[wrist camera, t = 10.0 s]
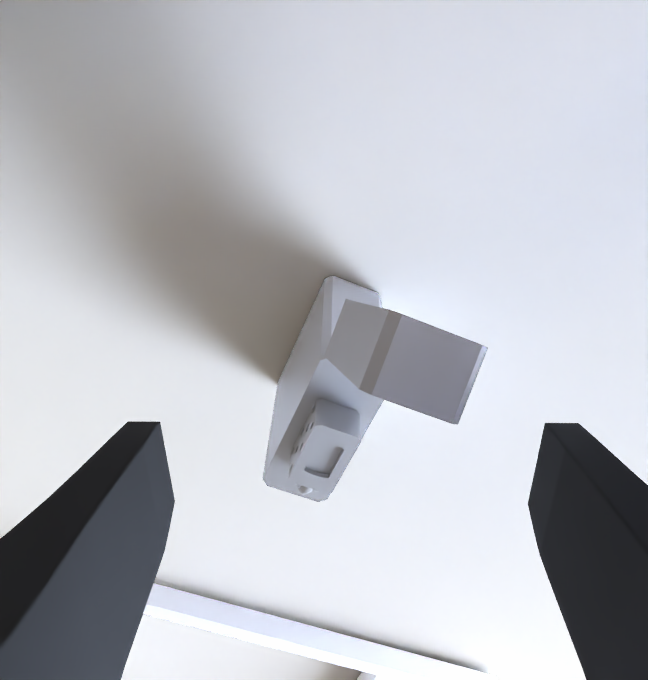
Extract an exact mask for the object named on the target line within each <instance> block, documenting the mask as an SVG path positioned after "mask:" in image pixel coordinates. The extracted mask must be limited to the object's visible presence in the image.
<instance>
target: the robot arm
mask: <svg viewBox="0 0 648 680" xmlns="http://www.w3.org/2000/svg"><path fill="white" fill-rule="evenodd" d="M174 502H175V500H174V495H173V490H172V484H171V479H170V473H169V468H168V463H167V457H166V452H165V446H164V441H163V436H162V430H161V425H160V422H127V423H126V424H125V425H124V426H123V427H122V428H121V429H120V430H119V431H118V432H117V433H116V434H115V435H113V436H112V437H111V438H110V439H109V440H108V441H107V442H106V443H105V444H104V445H103V446H102V447H101V448H100V449H99V450H98V451H97V452H96V453H95V454H94V455H93V456H92V457H91V458H90V459H89V460H88V461H87V462H86V463H85V464H84V465H83V466H82V467H81V468H80V469H79V470H78V471H77V472H75V473H74V474H73V475H72V476H71V477H70V478H69V479H68V480H67V481H66V482H65V483H64V484H63V485H62V486H61V487H59V488H58V489H57V490H56V491H55V492H54V493H53V494H52V495H51V496H50V497H49V498H48V499H47V500H45V501H44V502H43V503H42V504H41V505H40V506H38V507H37V508H36V509H35V510H34V511H33V512H31V513H30V514H29V515H28V516H27V517H26V518H24V519H23V520H22V521H21V522H20V523H19V524H18V525H16V526H15V527H14V528H13V529H12V530H11V531H9V532H8V533H7V534H6V535H5V536H3V537H2V538H1V539H0V680H121V677H122V674H123V670H124V667H125V664H126V661H127V658H128V655H129V652H130V649H131V647H132V644H133V641H134V638H135V635H136V632H137V629H138V626H139V624H140V621H141V618H142V615H143V612H144V609H145V606H146V603H147V601H148V598H149V595H150V592H151V589H152V586H153V583H154V580H155V577H156V574H157V571H158V568H159V566H160V563H161V560H162V556H163V553H164V550H165V546H166V541H167V537H168V532H169V528H170V522H171V517H172V512H173V507H174ZM528 506H529V511H530V515H531V520H532V524H533V529H534V533H535V537H536V541H537V545H538V549H539V553H540V556H541V559H542V562H543V565H544V567H545V570H546V573H547V575H548V578H549V581H550V583H551V586H552V589H553V592H554V594H555V597H556V600H557V602H558V605H559V607H560V610H561V613H562V615H563V618H564V621H565V623H566V626H567V629H568V631H569V634H570V636H571V639H572V642H573V644H574V647H575V650H576V652H577V655H578V658H579V660H580V663H581V665H582V668H583V671H584V674H585V677H586V680H648V485H647V484H646V483H644V482H643V481H642V480H641V479H640V478H639V477H638V476H636V475H635V474H634V473H633V472H632V471H631V470H630V469H629V468H628V467H626V466H625V465H624V464H623V463H622V462H621V461H620V460H619V459H618V458H617V457H615V456H614V455H613V454H612V453H611V452H610V451H609V450H608V449H607V448H606V447H604V446H603V445H602V444H601V443H600V442H599V441H598V440H597V439H596V438H595V437H593V436H592V435H591V434H590V433H589V432H588V431H587V430H586V429H584V428H583V427H582V426H581V425H580V424H578V423H545V426H544V430H543V435H542V440H541V445H540V449H539V454H538V459H537V464H536V468H535V473H534V478H533V483H532V487H531V492H530V497H529V501H528Z"/></svg>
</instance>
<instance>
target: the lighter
mask: <svg viewBox="0 0 648 680" xmlns="http://www.w3.org/2000/svg"><path fill="white" fill-rule="evenodd" d="M487 349H488V348H487V347H485V346H483V345H481V344H478V343H475V342H473V341H470V340H468V339H465V338H462V337H460V336H457V335H454V334H452V333H449V332H447V331H444V330H441V329H439V328H436V327H434V326H431V325H428V324H426V323H423V322H421V321H418V320H415V319H413V318H410V317H408V316H405V315H402V314H400V313H397V312H394V311H391V310H388V309H384V308H382V302H381V298H380V296H379V294H378V293H377V292H374V291H372V290H369V289H367V288H364V287H361V286H359V285H356V284H354V283H351V282H349V281H346V280H343V279H341V278H338V277H336V276H330V277H327V278H325V279H324V281H323V284H322V286H321V288H320V290H319V292H318V295H317V297H316V299H315V301H314V303H313V306H312V308H311V310H310V312H309V314H308V317H307V319H306V321H305V323H304V325H303V328H302V330H301V332H300V334H299V337H298V339H297V341H296V343H295V345H294V348H293V350H292V352H291V354H290V356H289V359H288V361H287V363H286V365H285V367H284V370H283V372H282V374H281V376H280V378H279V381H278V385H277V391H276V398H275V404H274V410H273V417H272V423H271V430H270V436H269V442H268V449H267V455H266V461H265V468H264V474H263V480H264V481H265V483H266V485H267V486H270V487H273V488H276V489H280V490H283V491H286V492H289V493H292V494H295V495H298V496H302V497H305V498H308V499H311V500H314V501H317V502H319V501H323V500H326V499H328V497H329V495H330V493H332V491H333V490H334V488H335V486H336V484H337V483H338V481H339V479H340V477H341V476H342V474H343V472H344V470H345V469H346V467H347V465H348V464H349V462H350V460H351V458H352V457H353V455H354V453H355V451H356V450H357V448H358V446H359V444H360V443H361V439H362V437H363V436H364V434H365V432H366V430H367V429H368V427H369V425H370V423H371V422H372V420H373V418H374V416H375V415H376V413H377V411H378V409H379V408H380V406H381V404H382V402H383V401H384V400H387V401H390V402H393V403H395V404H398V405H401V406H404V407H407V408H409V409H412V410H415V411H418V412H421V413H424V414H426V415H429V416H432V417H435V418H438V419H440V420H443V421H446V422H449V423H452V424H458V422H459V420H460V417H461V415H462V412H463V410H464V407H465V405H466V402H467V400H468V397H469V394H470V392H471V389H472V387H473V384H474V382H475V379H476V377H477V374H478V372H479V369H480V366H481V364H482V361H483V359H484V356H485V354H486V351H487Z"/></svg>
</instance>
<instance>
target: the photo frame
mask: <svg viewBox="0 0 648 680" xmlns="http://www.w3.org/2000/svg"><path fill="white" fill-rule="evenodd" d="M143 614H144V615H148V616H152V617H156V618H159V619H163V620H167V621H171V622H175V623H179V624H182V625H186V626H190V627H194V628H198V629H202V630H205V631H209V632H213V633H217V634H221V635H225V636H228V637H232V638H236V639H240V640H244V641H247V642H251V643H255V644H259V645H263V646H267V647H270V648H274V649H278V650H282V651H286V652H290V653H293V654H297V655H301V656H305V657H309V658H313V659H316V660H320V661H324V662H328V663H332V664H336V665H339V666H343V667H347V668H351V669H355V670H358V671H362V673H361V674H360V676H359V677H358V679H357V680H498V679H497V676H495V675H491V674H487V673H484V672H480V671H476V670H473V669H469V668H465V667H462V666H458V665H454V664H451V663H447V662H443V661H439V660H436V659H432V658H428V657H425V656H421V655H417V654H414V653H410V652H406V651H403V650H399V649H395V648H391V647H388V646H384V645H380V644H377V643H373V642H369V641H366V640H362V639H358V638H355V637H351V636H347V635H343V634H340V633H336V632H332V631H329V630H325V629H321V628H318V627H314V626H310V625H307V624H303V623H299V622H295V621H292V620H288V619H284V618H281V617H277V616H273V615H270V614H266V613H262V612H259V611H255V610H251V609H247V608H244V607H240V606H236V605H233V604H229V603H225V602H222V601H218V600H214V599H211V598H207V597H203V596H199V595H196V594H192V593H188V592H185V591H181V590H177V589H174V588H170V587H166V586H163V585H159V584H155V583H153V586H152V589H151V592H150V595H149V598H148V601H147V603H146V606H145V609H144V612H143Z"/></svg>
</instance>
